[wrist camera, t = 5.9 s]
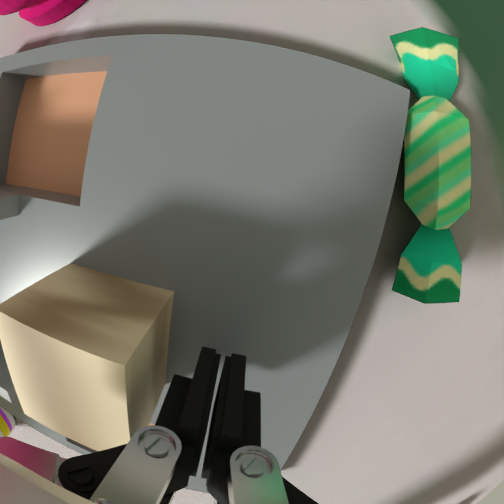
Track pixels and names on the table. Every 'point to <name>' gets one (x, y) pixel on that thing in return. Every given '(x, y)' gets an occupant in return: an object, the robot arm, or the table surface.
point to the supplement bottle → (6, 423)
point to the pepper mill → (40, 9)
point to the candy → (433, 166)
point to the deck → (204, 199)
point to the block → (88, 353)
